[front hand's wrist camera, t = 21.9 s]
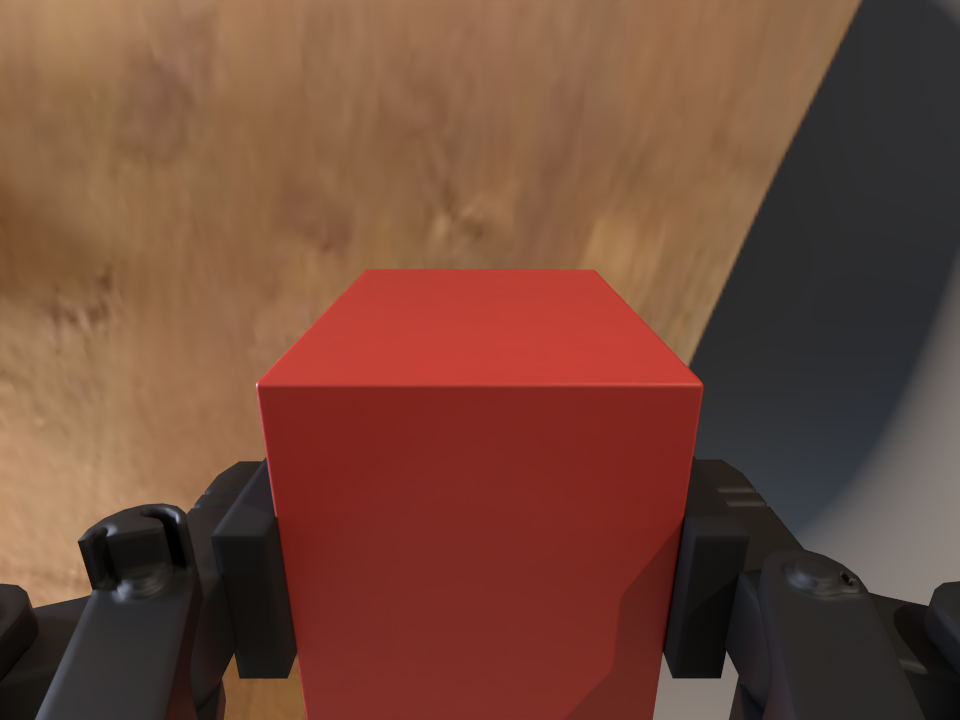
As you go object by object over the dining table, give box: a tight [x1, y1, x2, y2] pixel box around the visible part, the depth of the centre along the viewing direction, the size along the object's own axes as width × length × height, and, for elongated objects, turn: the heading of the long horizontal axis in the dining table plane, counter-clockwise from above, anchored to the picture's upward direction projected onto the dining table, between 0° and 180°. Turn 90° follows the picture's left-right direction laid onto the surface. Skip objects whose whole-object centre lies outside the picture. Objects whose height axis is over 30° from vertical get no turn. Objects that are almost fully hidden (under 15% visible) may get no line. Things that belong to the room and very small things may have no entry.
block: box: [256, 270, 703, 720], centre depth 12 cm, size 6×7×8 cm
